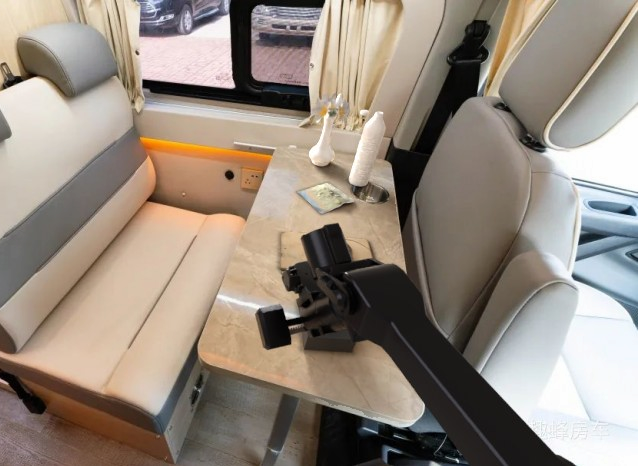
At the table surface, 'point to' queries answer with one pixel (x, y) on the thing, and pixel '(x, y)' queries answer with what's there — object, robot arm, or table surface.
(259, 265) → the table surface
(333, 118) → the flower vase
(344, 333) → the jug base
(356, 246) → the board
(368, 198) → the table surface
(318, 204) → the topographic map
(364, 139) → the water bottle
